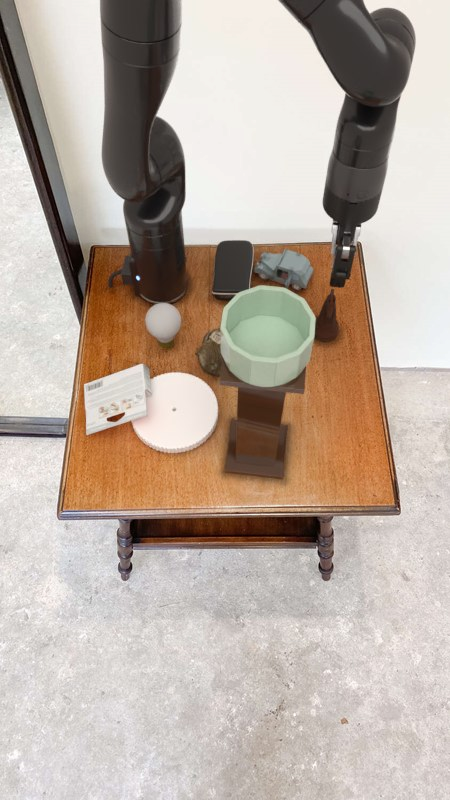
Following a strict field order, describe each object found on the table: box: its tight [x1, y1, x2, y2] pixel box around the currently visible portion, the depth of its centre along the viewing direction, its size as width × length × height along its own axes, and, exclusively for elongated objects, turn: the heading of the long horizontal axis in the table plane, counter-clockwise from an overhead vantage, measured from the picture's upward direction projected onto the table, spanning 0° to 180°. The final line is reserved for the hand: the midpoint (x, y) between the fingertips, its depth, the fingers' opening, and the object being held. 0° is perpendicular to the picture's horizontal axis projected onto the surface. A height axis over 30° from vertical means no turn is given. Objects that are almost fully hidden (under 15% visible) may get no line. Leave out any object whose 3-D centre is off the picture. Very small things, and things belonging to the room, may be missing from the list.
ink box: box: [83, 363, 152, 436], centre depth 103 cm, size 2×11×10 cm
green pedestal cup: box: [218, 284, 317, 480], centre depth 88 cm, size 11×11×34 cm
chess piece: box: [314, 288, 339, 343], centre depth 110 cm, size 5×5×10 cm
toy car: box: [253, 248, 315, 291], centre depth 117 cm, size 6×10×5 cm, turn 67°
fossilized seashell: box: [194, 327, 223, 376], centre depth 109 cm, size 8×7×10 cm
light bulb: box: [144, 303, 182, 350], centre depth 108 cm, size 6×6×10 cm
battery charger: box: [211, 239, 255, 301], centre depth 118 cm, size 7×4×11 cm
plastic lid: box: [130, 371, 219, 454], centre depth 104 cm, size 14×14×2 cm
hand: (337, 264), depth 99 cm, fingers open, 8 cm apart
